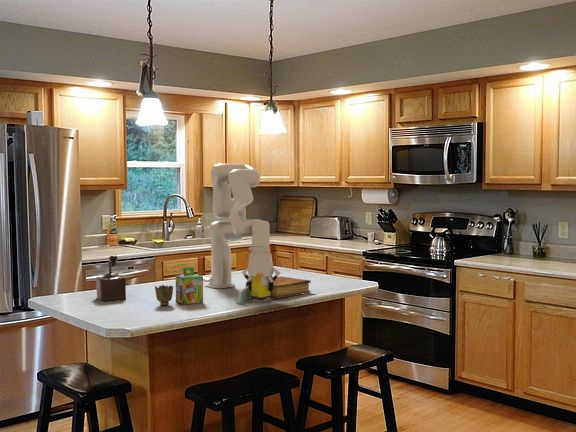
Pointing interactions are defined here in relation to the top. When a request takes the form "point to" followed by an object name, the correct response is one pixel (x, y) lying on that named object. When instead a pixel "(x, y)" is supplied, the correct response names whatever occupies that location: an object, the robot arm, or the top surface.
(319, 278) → the top surface
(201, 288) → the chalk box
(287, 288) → the diary
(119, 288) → the coffee grinder
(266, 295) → the supplement box
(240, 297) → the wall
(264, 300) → the coaster
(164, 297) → the cup
